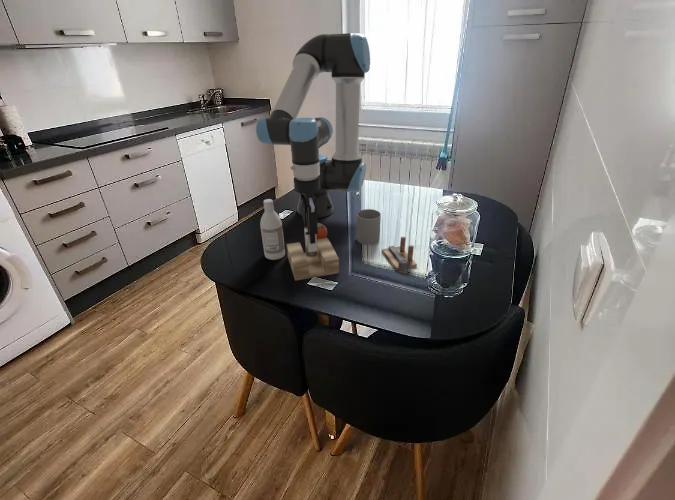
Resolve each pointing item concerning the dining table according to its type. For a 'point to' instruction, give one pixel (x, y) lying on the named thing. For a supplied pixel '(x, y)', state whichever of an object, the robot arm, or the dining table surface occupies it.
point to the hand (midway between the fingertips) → (311, 248)
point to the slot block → (313, 260)
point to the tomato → (321, 231)
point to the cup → (368, 226)
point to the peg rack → (400, 256)
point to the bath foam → (272, 232)
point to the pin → (309, 254)
